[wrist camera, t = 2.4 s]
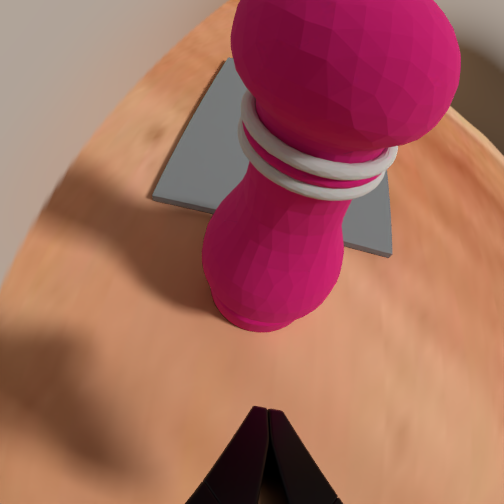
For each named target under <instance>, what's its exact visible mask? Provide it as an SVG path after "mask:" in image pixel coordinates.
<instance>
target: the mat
mask: <svg viewBox="0 0 504 504" xmlns="http://www.w3.org/2000/svg"><path fill="white" fill-rule="evenodd" d="M246 90H247V88H246V86H245V85H244V83H243V81H242V80H241V78H240V76H239V75H238V73H237V71H236V69H235V64H234V60H233V58H228V59H227V60H226V62H225V63H224V65H223V67H222V68H221V70H220V71H219V73H218V75H217V76H216V78H215V80H214V81H213V83H212V84H211V86H210V88H209V89H208V91H207V93H206V94H205V96H204V98H203V100H202V101H201V103H200V105H199V107H198V108H197V110H196V112H195V114H194V115H193V117H192V119H191V121H190V122H189V124H188V126H187V128H186V130H185V132H184V133H183V135H182V137H181V139H180V141H179V143H178V145H177V146H176V148H175V150H174V152H173V154H172V156H171V158H170V160H169V162H168V164H167V166H166V168H165V170H164V172H163V174H162V176H161V178H160V180H159V182H158V184H157V186H156V188H155V190H154V192H153V195H152V197H153V200H154V201H158V202H163V203H167V204H172V205H176V206H181V207H185V208H190V209H194V210H198V211H203V212H207V213H211V214H214V213H215V211H216V209H217V208H218V206H219V205H220V203H221V202H222V201H223V200H224V199H225V198H226V196H227V195H228V194H229V193H230V192H231V191H232V190H233V189H234V188H235V187H236V186H237V185H238V184H239V183H240V182H241V181H242V180H243V178H244V176H245V174H246V172H247V169H248V165H249V160H248V158H247V157H246V155H245V154H244V153H243V151H242V148H241V146H240V143H239V139H238V134H237V131H238V123H239V120H240V117H241V101H242V97H243V95H244V93H245V92H246ZM342 234H343V243H344V246H346V247H349V248H353V249H357V250H361V251H365V252H368V253H372V254H376V255H380V256H383V257H387V258H389V257H390V256H391V255H392V232H391V214H390V199H389V187H388V177H387V169H386V171H385V174H384V177H383V179H382V180H381V182H380V183H379V185H378V186H377V187H376V188H375V189H373V190H372V191H371V192H369V193H367V194H365V195H364V196H361V197H358V198H355V199H352V201H351V203H350V205H349V207H348V209H347V211H346V213H345V216H344V218H343V222H342Z"/></svg>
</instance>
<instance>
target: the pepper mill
mask: <svg viewBox="0 0 504 504" xmlns="http://www.w3.org/2000/svg"><path fill="white" fill-rule="evenodd" d="M231 50H232V55H233V60H234V64H235V69H236V71H237V73H238V75H239V76H240V78H241V80H242V81H243V83H244V85H245V86H246V88H247V90H246V92H245V93H244V95H243V97H242V101H241V117H240V120H239V123H238V131H237V134H238V139H239V143H240V146H241V148H242V151H243V153H244V154H245V155H246V157H247V158H248V160H249V165H248V169H247V172H246V174H245V176H244V178H243V180H242V181H241V182H240V183H239V184H238V185H237V186H236V187H235V188H234V189H233V190H232V191H231V192H230V193H229V194H228V195H227V196H226V198H225V199H224V200H223V201H222V202H221V203H220V205H219V206H218V208H217V209H216V211H215V213H214V214H213V216H212V218H211V220H210V221H209V223H208V226H207V229H206V233H205V236H204V241H203V248H202V264H203V269H204V273H205V276H206V279H207V281H208V283H209V285H210V287H211V293H212V297H213V300H214V302H215V304H216V306H217V308H218V310H219V311H220V312H221V314H222V315H223V316H224V317H225V318H226V319H227V320H228V321H230V322H231V323H233V324H234V325H236V326H238V327H240V328H242V329H245V330H248V331H254V332H271V331H275V330H279V329H281V328H283V327H286V326H287V325H289V324H290V323H292V322H293V321H294V320H296V319H299V318H301V317H303V316H305V315H307V314H309V313H310V312H312V311H313V310H315V309H316V308H317V307H318V306H319V305H320V304H322V303H323V301H324V300H325V299H326V297H327V296H328V295H329V293H330V292H331V290H332V289H333V287H334V285H335V284H336V282H337V279H338V277H339V274H340V270H341V265H342V260H343V254H344V243H343V234H342V222H343V218H344V216H345V213H346V211H347V209H348V207H349V205H350V203H351V201H352V199H355V198H358V197H361V196H364V195H365V194H367V193H369V192H371V191H372V190H373V189H375V188H376V187H377V186H378V185H379V183H380V182H381V180H382V179H383V177H384V174H385V171H386V169H388V168H389V167H390V166H391V165H392V163H393V162H394V160H395V158H396V155H397V151H398V146H399V145H404V144H407V143H410V142H412V141H415V140H418V139H419V138H421V137H422V136H423V135H425V134H426V133H428V132H429V131H430V130H431V129H432V128H434V127H435V126H436V125H437V124H438V122H439V121H440V120H441V118H442V117H443V116H444V114H445V113H446V112H447V110H448V109H449V106H450V104H451V102H452V99H453V97H454V94H455V92H456V89H457V87H458V84H459V77H460V66H461V62H460V61H461V56H460V50H459V46H458V42H457V39H456V36H455V33H454V29H453V27H452V26H451V24H450V22H449V21H448V19H447V17H446V16H445V14H444V13H443V11H442V10H441V9H440V8H439V6H438V5H437V4H436V3H435V2H434V1H433V0H240V2H239V4H238V6H237V10H236V13H235V17H234V21H233V26H232V31H231Z"/></svg>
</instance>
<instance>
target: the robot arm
mask: <svg viewBox="0 0 504 504" xmlns="http://www.w3.org/2000/svg"><path fill="white" fill-rule="evenodd" d="M185 504H343V503H342V501H341V500H340V498H337V494H336V493H335V491H334V490H333V488H332V487H331V485H330V484H329V482H328V481H327V479H326V478H325V476H324V475H323V473H322V472H321V470H320V469H319V467H318V466H317V464H316V463H315V461H314V460H313V458H312V457H311V455H310V454H309V452H308V450H307V449H306V447H305V446H304V444H303V443H302V441H301V439H300V438H299V436H298V435H297V433H296V432H295V430H294V428H293V427H292V425H291V424H290V422H289V420H288V419H287V417H286V416H285V414H284V412H283V411H281V410H275V409H268V410H267V408H264V407H258V406H253V407H252V409H251V410H250V412H249V413H248V415H247V416H246V418H245V419H244V421H243V423H242V424H241V426H240V427H239V429H238V430H237V432H236V433H235V435H234V436H233V438H232V439H231V441H230V442H229V444H228V445H227V447H226V448H225V450H224V451H223V453H222V454H221V455H220V457H219V458H218V460H217V461H216V463H215V464H214V466H213V467H212V468H211V470H210V471H209V473H208V474H207V475H206V477H205V478H204V480H203V482H201V484H200V485H199V486H198V488H197V489H196V490H195V492H194V493H193V494H192V495H191V497H190V498H189V499H188V500H187V502H186V503H185Z"/></svg>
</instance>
